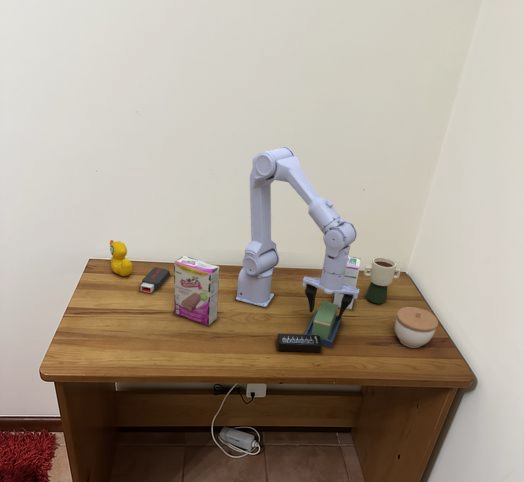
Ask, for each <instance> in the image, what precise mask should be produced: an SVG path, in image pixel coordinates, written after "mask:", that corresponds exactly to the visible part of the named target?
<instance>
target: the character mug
mask: <svg viewBox="0 0 524 482" xmlns="http://www.w3.org/2000/svg"><path fill="white" fill-rule="evenodd" d="M368 270H369V272H368ZM401 272H402V269H401V268H397V263H396V261H395V260H393V259H391V258H389V257H385V256H377V257H374V258H373V259H372V261H371V264H370V265H366V266H364V269H363V274H362V275H363V276H364V277H368V280H369V281H370V283H369V286H368V288H367V290H366V294H365V297H366V299H367V300H368V301H370V302H371V303H374V304H383V303H385V302H387V297H388V288H389V287H388V286H390V285H391V284H392V283H393V281H394V279H397V280H398V279H399V278H400V276H401ZM395 273H396V274H395Z"/></svg>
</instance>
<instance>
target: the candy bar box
mask: <svg viewBox="0 0 524 482" xmlns="http://www.w3.org/2000/svg"><path fill="white" fill-rule="evenodd" d="M219 284H220V266H218V265H215V264H212V263H208V262H206V261H203V260H199V259H196V258H194V257H190V256H187V255H182V256H180V257H179V258H178V259H176V260H175V261H174V262H173V285H174V286H173V294H174V297H173V298H174V299H173V303H174V305H173V306H174V307H173V309H174V312H173V313H174V315H176V316H178V317H181V318H183V319H184V318H185V319H187V320H191V321H193V322H196V323H199V324H202V325H204V326H207V327H210V325H212V323H214V322H215V321H216V320H217V319H218V308H219V307H218V306H219V288H220V287H219V286H220V285H219Z"/></svg>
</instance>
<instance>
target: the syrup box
mask: <svg viewBox="0 0 524 482" xmlns="http://www.w3.org/2000/svg"><path fill="white" fill-rule="evenodd" d="M360 267H361V257H356V256H353V255H351V256H350V255H348V260H347V265H346V270H345V275H344V280H343V283H344V284H346V285H349V286H351V287H353V288H356V289H357V285H358V279H359V273H360ZM343 296H344V295H343V294H339V293H334V297H333V302H332V303H333V304H337V305H338V309H340V308H341V301H342V298H343ZM354 300H355V299H354V298H353V299H352V302H351V303H350V305H349V306H348V307H347V308H346V309H345V310H352V309H353V306H354V305H353V304H354Z"/></svg>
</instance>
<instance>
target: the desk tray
mask: <svg viewBox="0 0 524 482" xmlns="http://www.w3.org/2000/svg"><path fill="white" fill-rule="evenodd" d="M317 312H318V310H317V309H316V310H315V311H314V312H313V315H312V317H311V319H310V322H309V323H308V326H307V328H306V330H305V332H304V334H303V335H311V334H312V328H313V322H314V318H315V316H316V314H317ZM342 319H343V316H342V317H341V319H340V320H338V315H337V314H336V319H335V323H334V326H333V328H332V331H331V333H330V336H329V338H328V339H324V338H320V339H321V343H322V347H325V348H326V347H327V348H330V349H332V347H333V345H334V342H335V339H336V337H337V334H338V331H339V330H340V326H341V323H342Z"/></svg>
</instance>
